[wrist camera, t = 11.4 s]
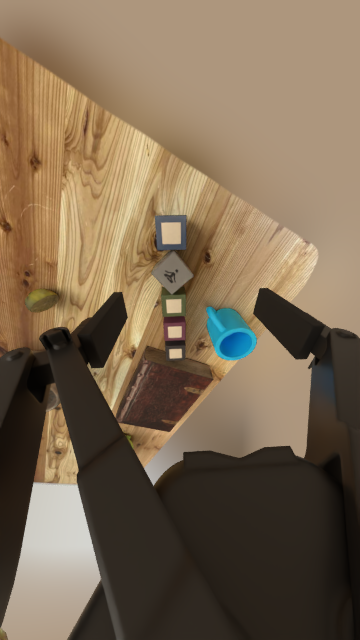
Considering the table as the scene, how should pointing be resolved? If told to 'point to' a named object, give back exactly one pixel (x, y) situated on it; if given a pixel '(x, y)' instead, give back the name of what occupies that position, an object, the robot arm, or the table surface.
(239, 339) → the mug
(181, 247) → the block
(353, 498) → the robot arm
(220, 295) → the table surface
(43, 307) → the lime
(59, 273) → the table surface
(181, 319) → the block
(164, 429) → the hardback book
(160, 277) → the dice cube
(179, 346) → the block
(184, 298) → the block
